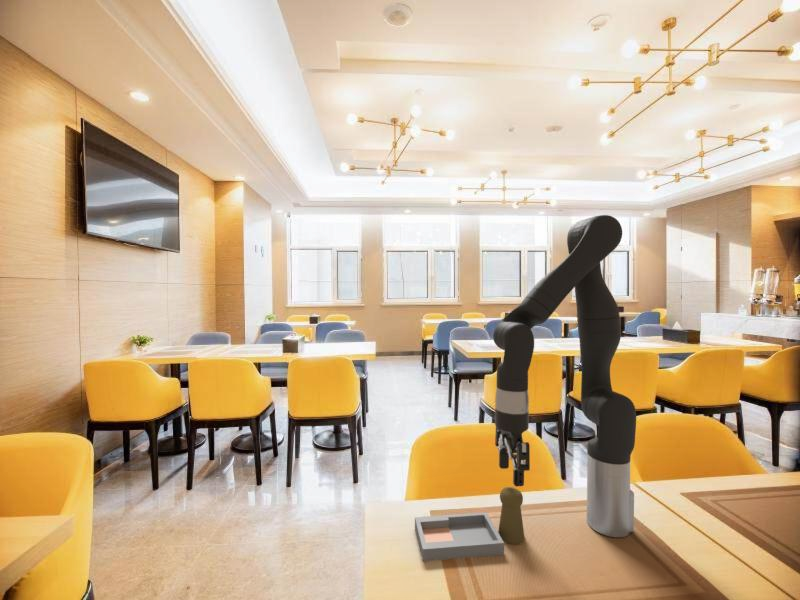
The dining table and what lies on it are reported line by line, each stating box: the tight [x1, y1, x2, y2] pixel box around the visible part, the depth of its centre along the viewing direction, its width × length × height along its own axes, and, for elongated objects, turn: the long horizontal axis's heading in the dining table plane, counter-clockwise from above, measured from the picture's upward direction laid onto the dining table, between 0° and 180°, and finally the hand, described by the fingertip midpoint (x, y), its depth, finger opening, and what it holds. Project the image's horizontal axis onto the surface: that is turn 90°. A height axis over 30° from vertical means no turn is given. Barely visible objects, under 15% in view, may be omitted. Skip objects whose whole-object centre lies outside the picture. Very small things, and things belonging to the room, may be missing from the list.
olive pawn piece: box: [497, 486, 526, 546], centre depth 88 cm, size 6×6×11 cm
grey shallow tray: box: [414, 511, 505, 562], centre depth 87 cm, size 18×12×3 cm, turn 96°
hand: (510, 476), depth 88 cm, fingers open, 8 cm apart
